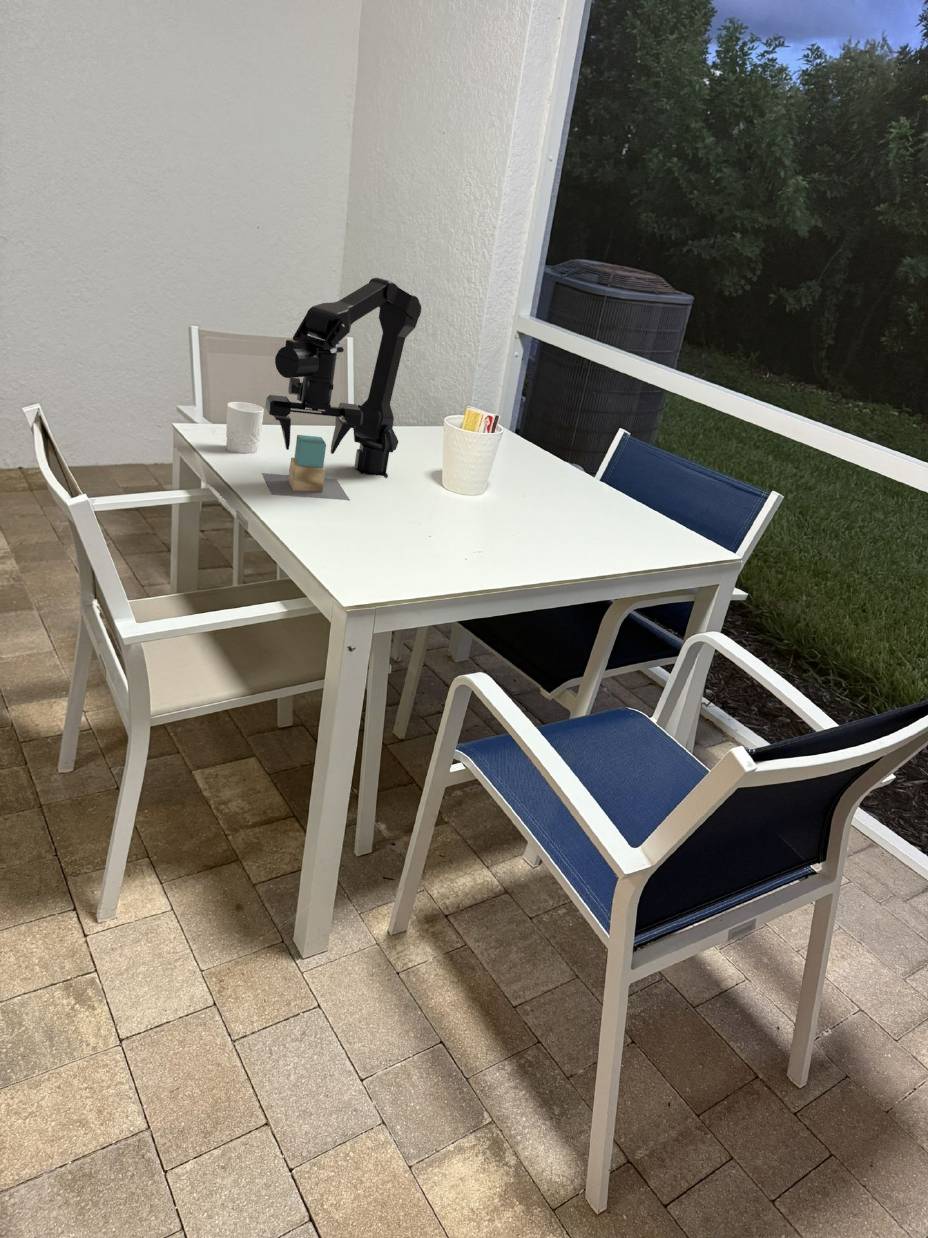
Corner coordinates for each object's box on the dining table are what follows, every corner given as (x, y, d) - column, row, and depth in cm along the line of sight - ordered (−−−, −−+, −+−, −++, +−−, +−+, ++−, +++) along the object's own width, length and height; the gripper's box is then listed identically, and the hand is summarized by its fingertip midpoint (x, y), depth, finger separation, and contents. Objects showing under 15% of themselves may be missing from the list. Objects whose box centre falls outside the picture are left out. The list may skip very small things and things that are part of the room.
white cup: (220, 444, 205) (223, 400, 201) (255, 446, 209) (259, 403, 205) (227, 455, 199) (231, 410, 195) (263, 457, 203) (268, 413, 199)
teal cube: (318, 460, 190) (321, 436, 188) (323, 467, 186) (326, 444, 184) (294, 458, 188) (297, 434, 186) (298, 465, 184) (301, 441, 182)
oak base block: (316, 482, 192) (319, 459, 190) (322, 492, 187) (325, 469, 185) (288, 480, 190) (291, 457, 188) (293, 490, 185) (296, 466, 183)
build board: (336, 481, 197) (336, 478, 197) (349, 502, 187) (350, 499, 186) (261, 475, 191) (261, 472, 191) (271, 496, 181) (271, 494, 180)
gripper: (355, 370, 189) (345, 443, 196) (265, 359, 182) (257, 435, 189) (368, 384, 180) (357, 459, 187) (274, 372, 173) (265, 451, 180)
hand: (309, 451), depth 186 cm, fingers open, 9 cm apart
